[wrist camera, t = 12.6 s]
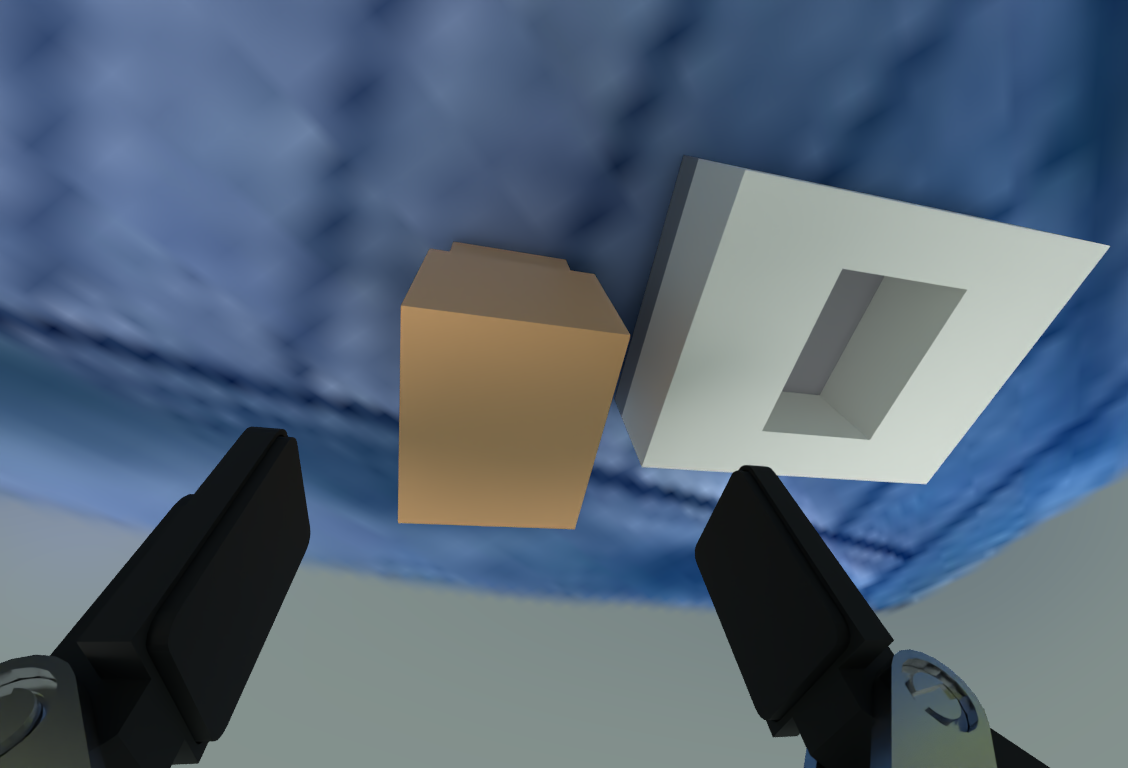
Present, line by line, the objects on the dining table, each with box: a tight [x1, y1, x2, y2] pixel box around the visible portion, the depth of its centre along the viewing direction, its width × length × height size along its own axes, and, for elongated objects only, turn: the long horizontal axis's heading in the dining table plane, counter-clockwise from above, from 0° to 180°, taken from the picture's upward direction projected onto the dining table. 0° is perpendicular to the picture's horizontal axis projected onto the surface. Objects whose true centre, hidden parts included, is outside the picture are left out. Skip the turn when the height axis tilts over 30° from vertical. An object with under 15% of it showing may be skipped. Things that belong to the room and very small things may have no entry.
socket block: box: [615, 155, 1110, 484], centre depth 19 cm, size 14×11×5 cm
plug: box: [398, 242, 631, 529], centre depth 16 cm, size 6×7×8 cm
